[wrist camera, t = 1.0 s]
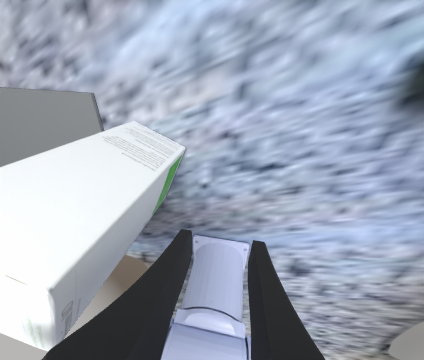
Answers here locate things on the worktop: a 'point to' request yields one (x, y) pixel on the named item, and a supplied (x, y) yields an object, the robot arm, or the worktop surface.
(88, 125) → the charcoal rubber mat
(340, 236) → the worktop surface
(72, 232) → the skincare box
